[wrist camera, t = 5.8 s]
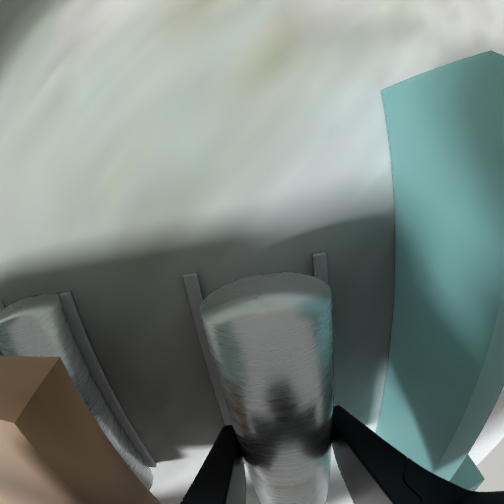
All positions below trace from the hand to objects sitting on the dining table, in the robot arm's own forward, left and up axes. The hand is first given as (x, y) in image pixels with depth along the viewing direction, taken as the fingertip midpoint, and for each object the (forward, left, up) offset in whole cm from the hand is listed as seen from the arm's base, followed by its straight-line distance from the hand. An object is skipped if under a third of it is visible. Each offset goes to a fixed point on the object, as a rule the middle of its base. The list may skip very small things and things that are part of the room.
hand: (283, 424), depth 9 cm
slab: (0, +10, +1) cm, 10 cm away
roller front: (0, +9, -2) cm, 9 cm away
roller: (0, 0, -1) cm, 1 cm away
